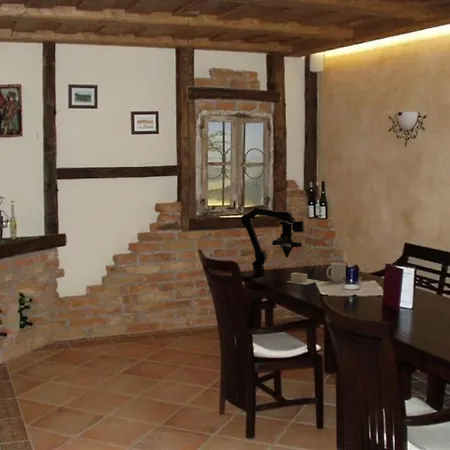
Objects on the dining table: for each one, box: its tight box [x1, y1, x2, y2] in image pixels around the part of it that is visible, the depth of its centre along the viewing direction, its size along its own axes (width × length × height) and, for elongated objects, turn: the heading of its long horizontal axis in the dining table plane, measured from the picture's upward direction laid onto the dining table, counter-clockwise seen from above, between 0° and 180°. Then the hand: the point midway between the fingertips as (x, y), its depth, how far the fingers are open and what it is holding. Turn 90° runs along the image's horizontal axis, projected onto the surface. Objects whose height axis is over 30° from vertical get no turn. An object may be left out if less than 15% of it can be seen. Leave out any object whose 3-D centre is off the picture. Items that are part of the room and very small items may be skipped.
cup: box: [326, 262, 346, 283], centre depth 417 cm, size 8×12×10 cm
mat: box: [286, 278, 319, 286], centre depth 416 cm, size 14×14×1 cm
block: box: [290, 272, 308, 282], centre depth 418 cm, size 4×4×9 cm
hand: (286, 257), depth 431 cm, fingers closed
